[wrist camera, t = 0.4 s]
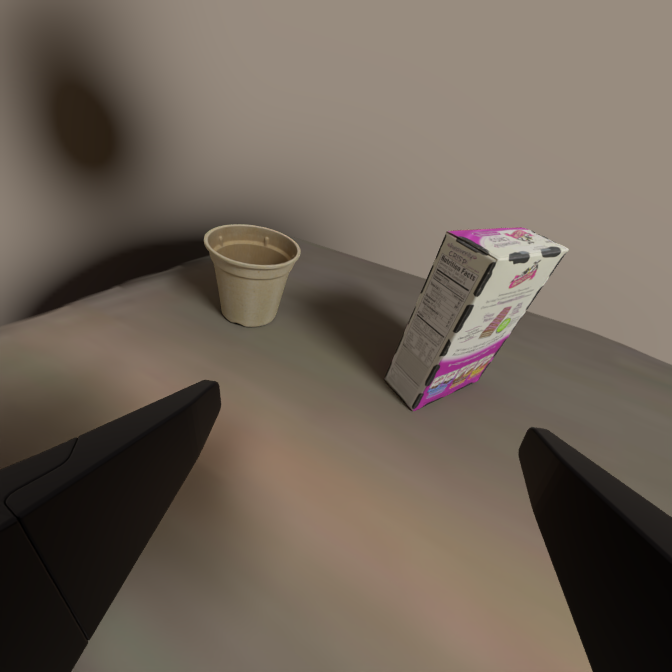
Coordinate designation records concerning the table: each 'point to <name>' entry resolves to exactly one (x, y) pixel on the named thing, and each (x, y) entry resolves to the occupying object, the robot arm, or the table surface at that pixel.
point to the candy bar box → (469, 309)
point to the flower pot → (250, 270)
